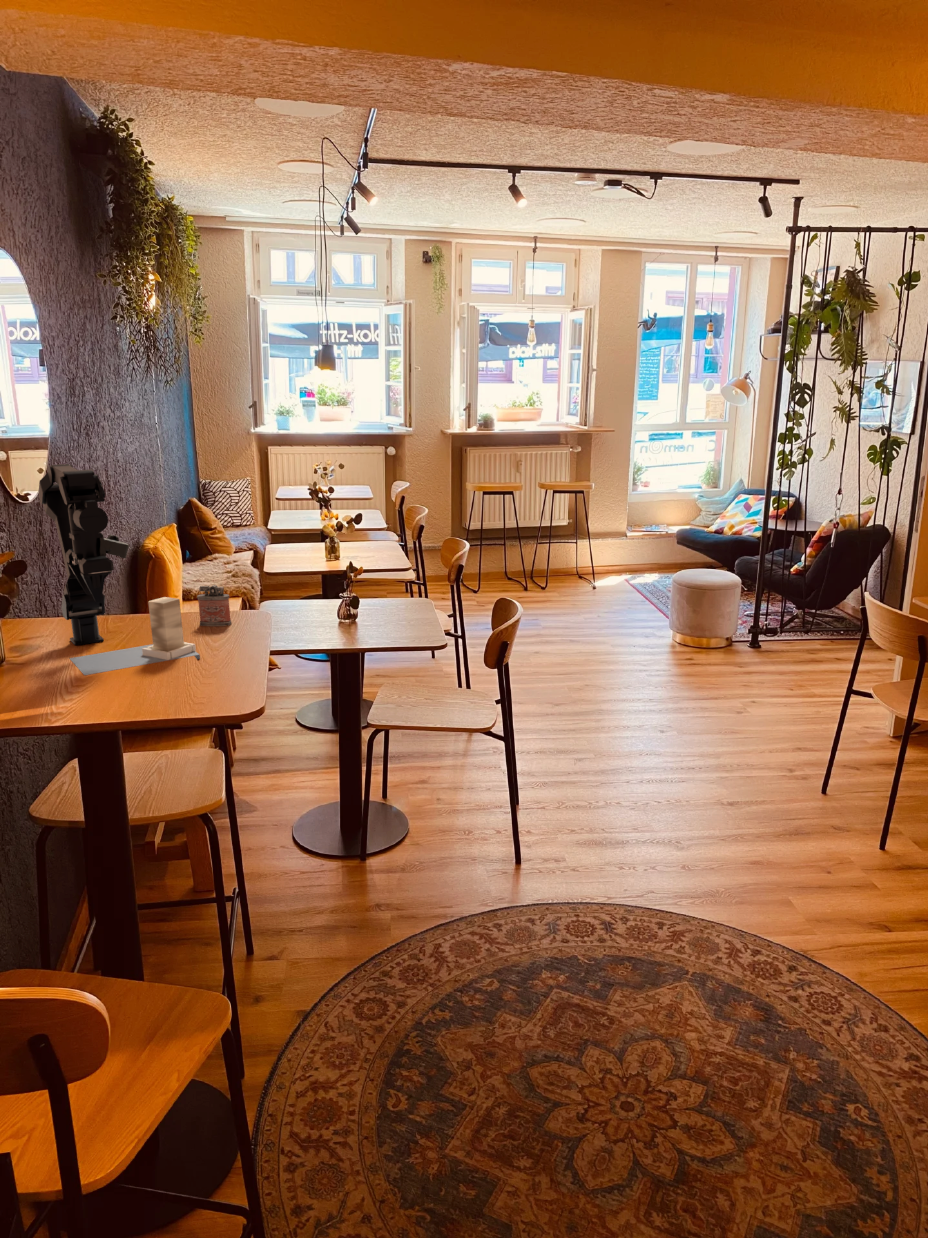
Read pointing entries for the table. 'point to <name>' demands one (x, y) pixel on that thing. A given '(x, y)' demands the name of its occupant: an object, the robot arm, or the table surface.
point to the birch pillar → (166, 624)
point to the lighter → (214, 606)
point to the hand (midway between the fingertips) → (93, 598)
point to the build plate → (118, 660)
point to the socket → (171, 654)
